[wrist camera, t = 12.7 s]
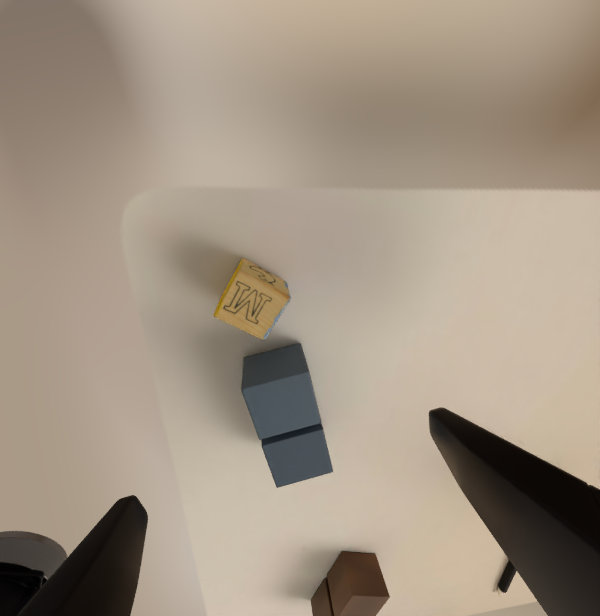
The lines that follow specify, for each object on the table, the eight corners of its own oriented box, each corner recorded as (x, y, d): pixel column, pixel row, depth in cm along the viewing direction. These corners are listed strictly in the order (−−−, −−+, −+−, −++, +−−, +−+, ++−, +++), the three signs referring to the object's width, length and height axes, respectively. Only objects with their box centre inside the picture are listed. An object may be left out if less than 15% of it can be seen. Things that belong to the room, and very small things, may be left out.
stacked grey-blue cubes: (273, 446, 23) (276, 488, 19) (243, 357, 19) (240, 389, 16) (322, 433, 23) (333, 472, 20) (300, 342, 20) (309, 371, 16)
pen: (546, 487, 30) (556, 497, 29) (499, 590, 37) (506, 602, 36) (539, 488, 30) (549, 499, 29) (493, 592, 37) (499, 603, 36)
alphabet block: (263, 320, 19) (264, 343, 16) (218, 299, 18) (211, 318, 15) (287, 281, 18) (292, 297, 15) (242, 256, 17) (239, 268, 14)
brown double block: (310, 600, 31) (316, 646, 28) (342, 551, 29) (352, 595, 26) (342, 601, 32) (352, 646, 29) (375, 554, 30) (390, 597, 27)
